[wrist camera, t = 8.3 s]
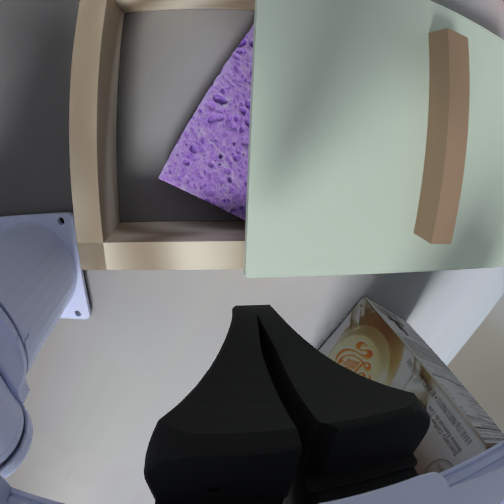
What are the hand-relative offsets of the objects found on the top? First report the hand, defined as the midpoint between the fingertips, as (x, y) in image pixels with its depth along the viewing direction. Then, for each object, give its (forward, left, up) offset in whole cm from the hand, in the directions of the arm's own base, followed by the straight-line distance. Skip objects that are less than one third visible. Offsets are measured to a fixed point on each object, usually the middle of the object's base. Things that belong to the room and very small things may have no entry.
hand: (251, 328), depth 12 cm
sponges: (+2, +8, -10) cm, 13 cm away
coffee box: (+11, -10, -10) cm, 18 cm away
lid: (+11, +8, -6) cm, 15 cm away
